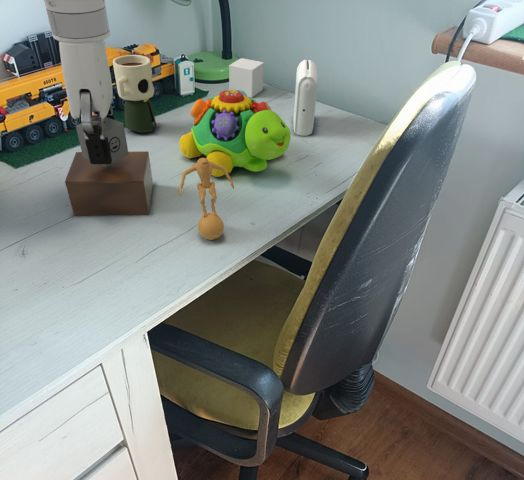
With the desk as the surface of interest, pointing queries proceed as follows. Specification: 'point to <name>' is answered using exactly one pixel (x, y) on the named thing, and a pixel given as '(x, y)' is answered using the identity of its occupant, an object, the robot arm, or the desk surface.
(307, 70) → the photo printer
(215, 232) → the figurine
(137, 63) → the character mug
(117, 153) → the dice cube
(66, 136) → the desk surface
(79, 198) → the walnut block
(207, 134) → the turtle toy
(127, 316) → the desk surface
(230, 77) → the white cube
